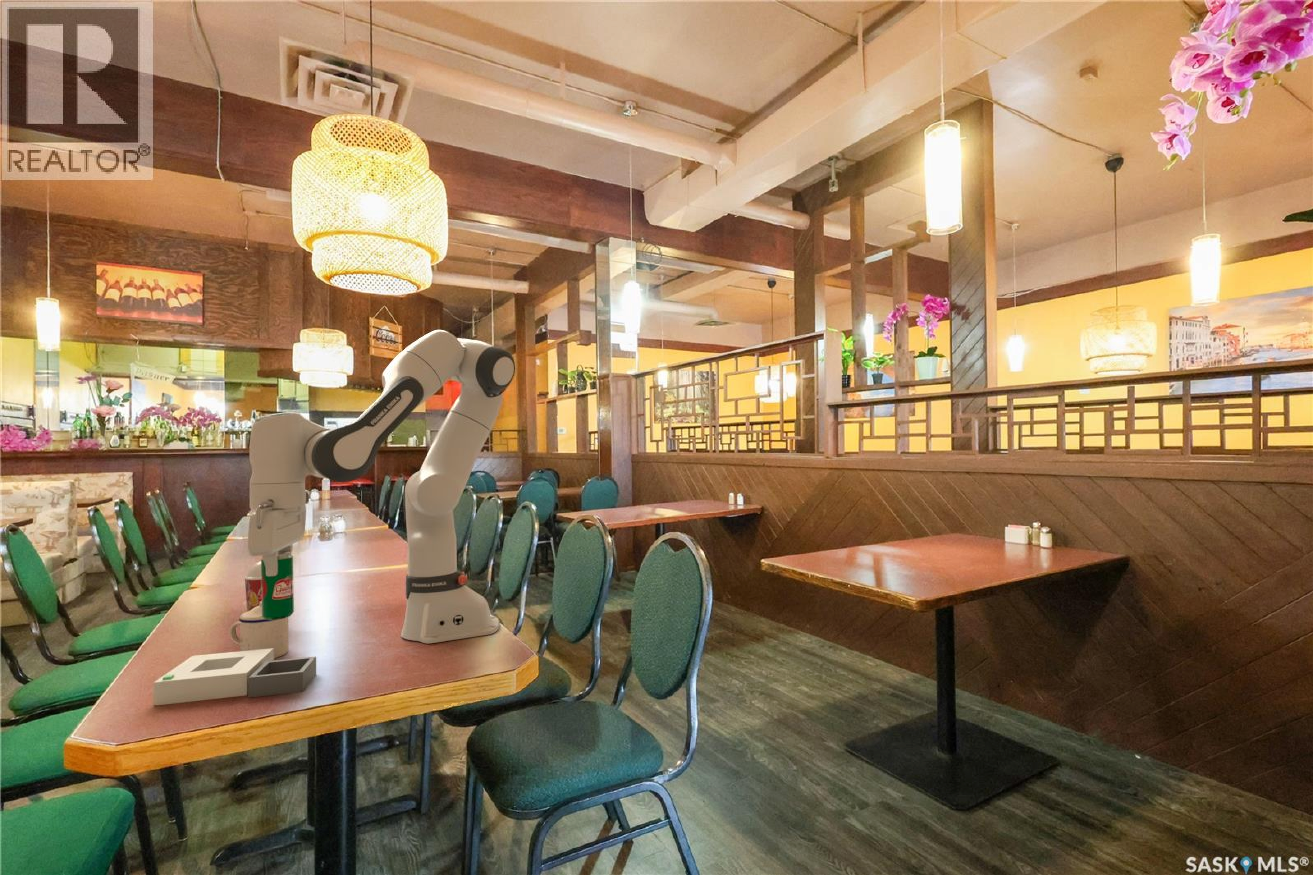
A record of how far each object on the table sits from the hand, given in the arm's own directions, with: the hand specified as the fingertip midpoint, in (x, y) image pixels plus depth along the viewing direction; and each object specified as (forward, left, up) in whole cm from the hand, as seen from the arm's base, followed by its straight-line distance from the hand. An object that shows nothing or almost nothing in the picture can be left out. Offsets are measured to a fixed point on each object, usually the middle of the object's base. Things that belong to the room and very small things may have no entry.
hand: (278, 572), depth 111 cm
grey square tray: (-1, 0, -21) cm, 21 cm away
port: (+11, -4, -21) cm, 24 cm away
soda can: (0, 0, -9) cm, 9 cm away
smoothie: (+15, -41, -21) cm, 48 cm away
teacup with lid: (+10, -21, -21) cm, 31 cm away
